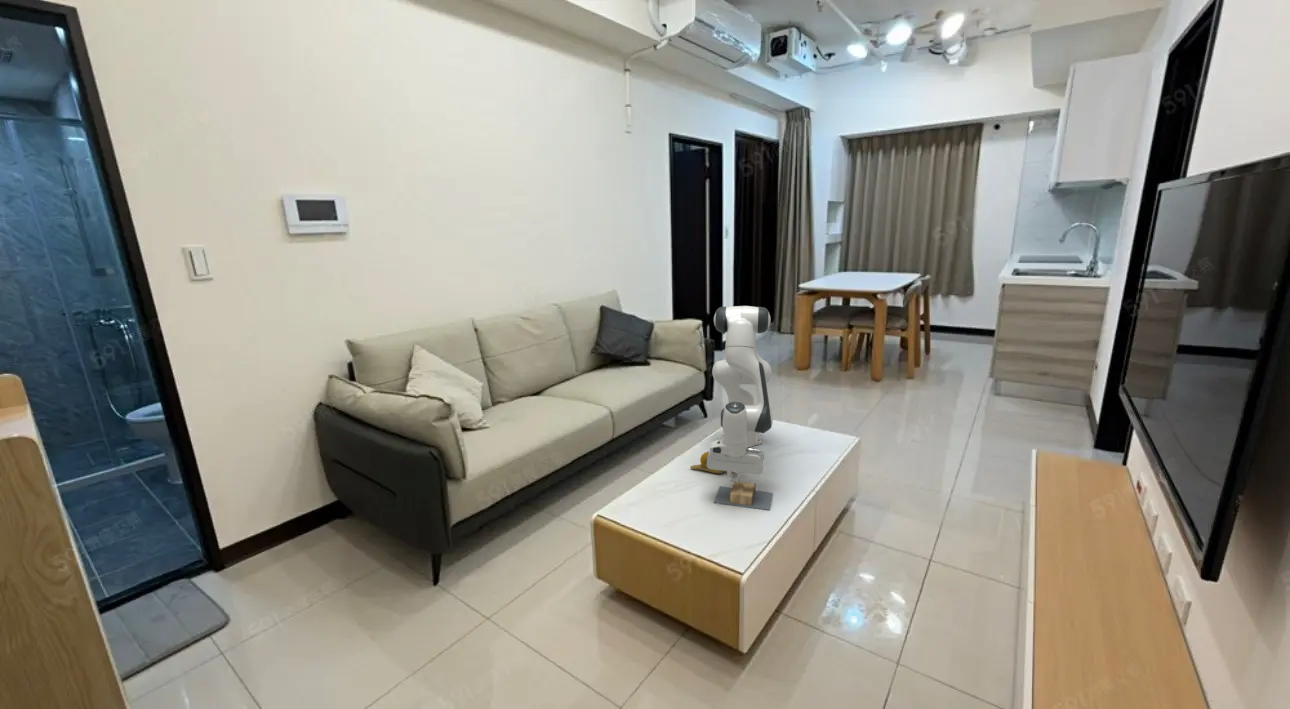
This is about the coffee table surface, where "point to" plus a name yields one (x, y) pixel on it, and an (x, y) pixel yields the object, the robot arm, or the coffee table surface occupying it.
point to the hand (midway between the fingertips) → (734, 481)
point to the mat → (760, 502)
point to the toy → (705, 465)
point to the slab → (743, 493)
